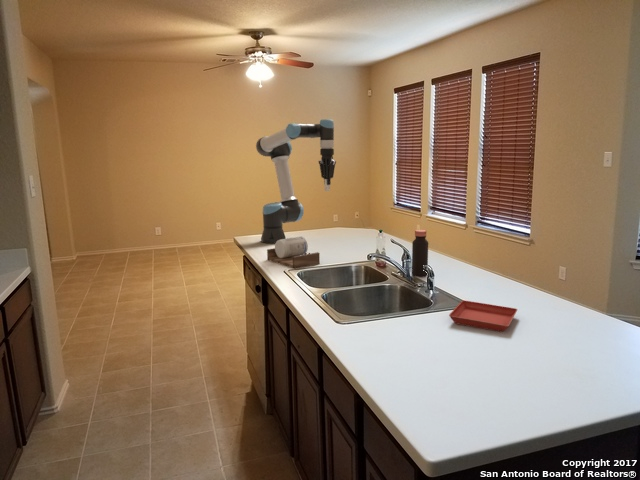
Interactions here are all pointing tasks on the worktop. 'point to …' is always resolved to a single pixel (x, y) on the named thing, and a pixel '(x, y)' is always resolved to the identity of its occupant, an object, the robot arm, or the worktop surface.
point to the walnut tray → (294, 259)
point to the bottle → (419, 253)
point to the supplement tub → (291, 247)
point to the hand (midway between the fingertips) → (327, 190)
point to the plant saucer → (483, 315)
